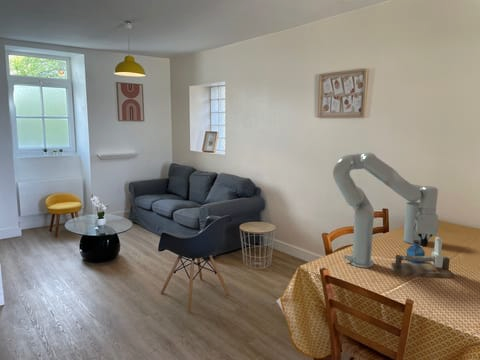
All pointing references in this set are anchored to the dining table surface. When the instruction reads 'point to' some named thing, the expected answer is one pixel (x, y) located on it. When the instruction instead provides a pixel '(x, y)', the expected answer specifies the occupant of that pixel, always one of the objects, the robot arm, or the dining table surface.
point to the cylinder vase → (410, 222)
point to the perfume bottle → (415, 251)
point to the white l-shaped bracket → (437, 253)
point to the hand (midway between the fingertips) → (423, 246)
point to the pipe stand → (421, 267)
